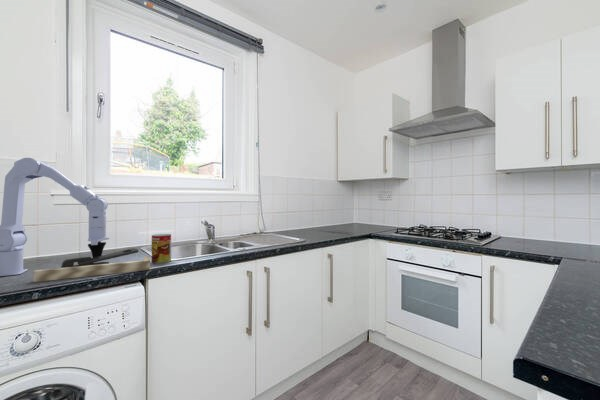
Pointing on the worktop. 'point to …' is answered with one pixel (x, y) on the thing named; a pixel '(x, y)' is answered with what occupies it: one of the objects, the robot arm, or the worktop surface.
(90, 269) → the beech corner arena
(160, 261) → the canned food
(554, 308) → the worktop surface
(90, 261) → the dark grey elongated piece
